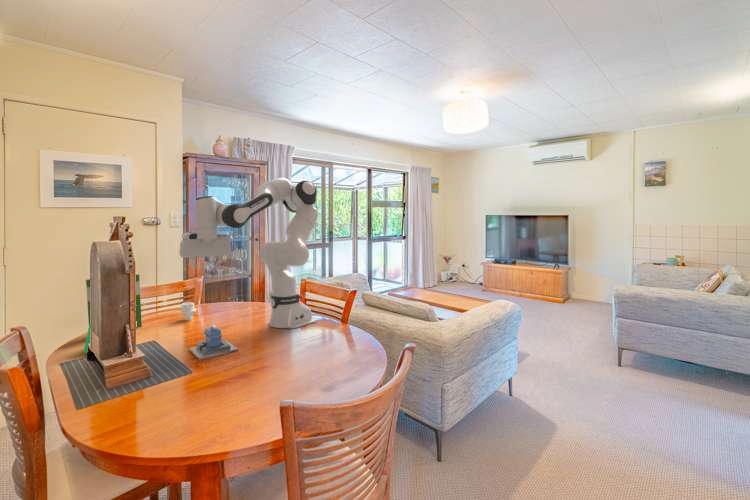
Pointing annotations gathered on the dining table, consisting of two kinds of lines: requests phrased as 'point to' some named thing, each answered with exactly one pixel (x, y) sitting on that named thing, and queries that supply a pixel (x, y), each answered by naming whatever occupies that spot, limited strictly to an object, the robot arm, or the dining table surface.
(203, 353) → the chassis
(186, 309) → the pipe fitting
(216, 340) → the servo
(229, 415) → the dining table surface
